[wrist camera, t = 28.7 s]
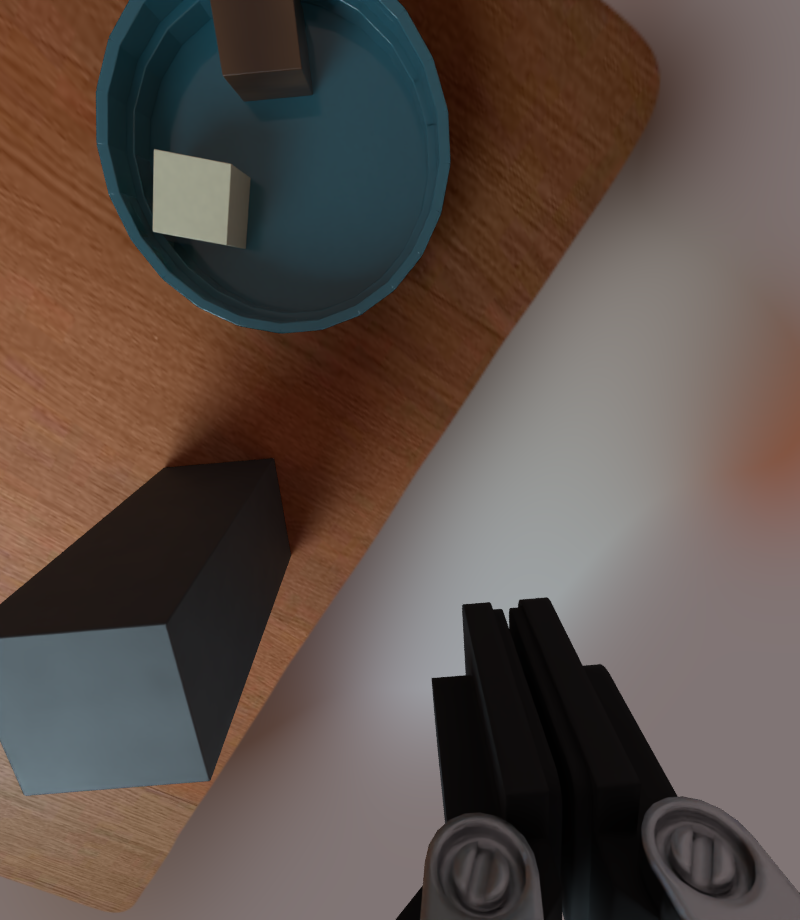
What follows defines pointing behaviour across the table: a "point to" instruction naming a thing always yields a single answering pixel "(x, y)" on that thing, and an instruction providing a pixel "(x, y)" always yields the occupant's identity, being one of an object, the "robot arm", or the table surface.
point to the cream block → (200, 199)
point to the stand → (143, 633)
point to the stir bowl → (282, 158)
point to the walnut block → (263, 48)
